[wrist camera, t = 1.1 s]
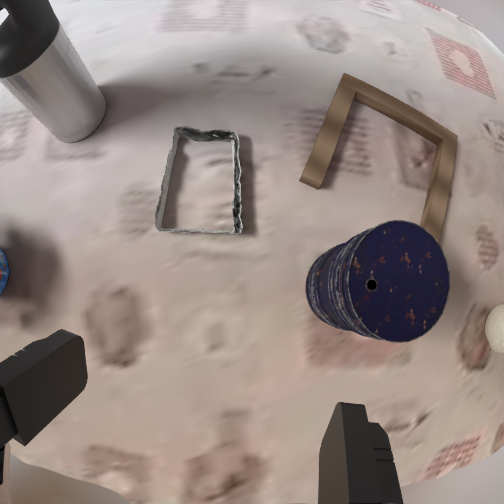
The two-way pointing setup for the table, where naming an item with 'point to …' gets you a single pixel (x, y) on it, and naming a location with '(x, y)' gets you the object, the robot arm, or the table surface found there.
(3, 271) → the snack cup
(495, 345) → the white egg
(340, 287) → the dark blue ridged cylinder
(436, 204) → the walnut bay
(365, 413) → the robot arm
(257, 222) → the table surface
